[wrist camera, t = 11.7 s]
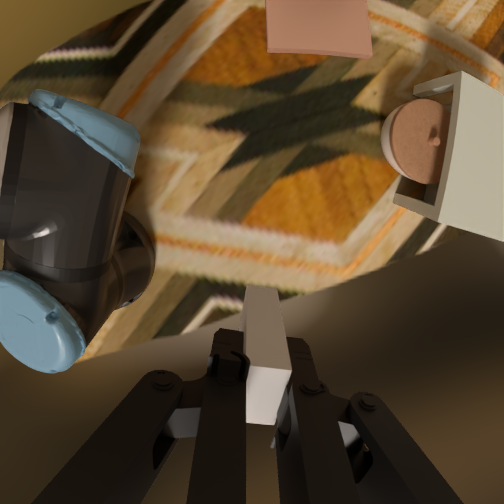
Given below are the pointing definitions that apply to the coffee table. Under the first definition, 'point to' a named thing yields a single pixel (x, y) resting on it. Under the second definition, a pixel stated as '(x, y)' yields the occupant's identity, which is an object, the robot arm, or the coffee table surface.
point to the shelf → (467, 159)
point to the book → (319, 27)
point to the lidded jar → (417, 139)
